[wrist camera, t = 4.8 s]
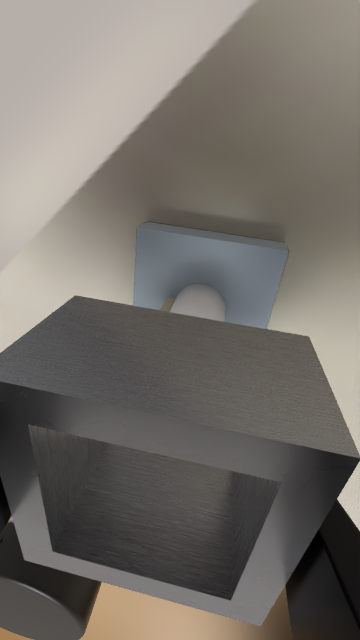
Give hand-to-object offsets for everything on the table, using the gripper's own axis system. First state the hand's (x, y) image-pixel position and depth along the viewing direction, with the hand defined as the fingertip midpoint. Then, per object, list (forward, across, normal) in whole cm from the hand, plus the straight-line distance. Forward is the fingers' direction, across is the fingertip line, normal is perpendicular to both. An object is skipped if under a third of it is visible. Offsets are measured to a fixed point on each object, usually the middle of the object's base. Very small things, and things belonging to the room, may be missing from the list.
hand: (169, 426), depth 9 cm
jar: (+11, +7, +16) cm, 21 cm away
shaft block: (+11, 0, 0) cm, 11 cm away
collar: (+1, 0, 0) cm, 1 cm away
